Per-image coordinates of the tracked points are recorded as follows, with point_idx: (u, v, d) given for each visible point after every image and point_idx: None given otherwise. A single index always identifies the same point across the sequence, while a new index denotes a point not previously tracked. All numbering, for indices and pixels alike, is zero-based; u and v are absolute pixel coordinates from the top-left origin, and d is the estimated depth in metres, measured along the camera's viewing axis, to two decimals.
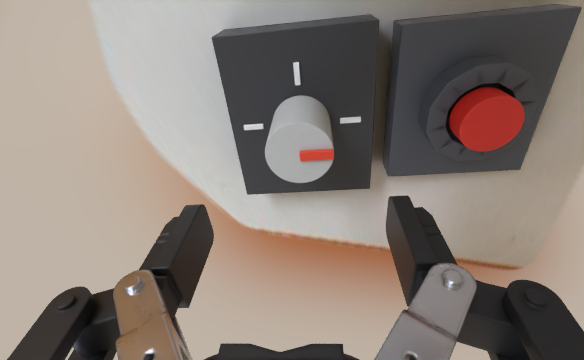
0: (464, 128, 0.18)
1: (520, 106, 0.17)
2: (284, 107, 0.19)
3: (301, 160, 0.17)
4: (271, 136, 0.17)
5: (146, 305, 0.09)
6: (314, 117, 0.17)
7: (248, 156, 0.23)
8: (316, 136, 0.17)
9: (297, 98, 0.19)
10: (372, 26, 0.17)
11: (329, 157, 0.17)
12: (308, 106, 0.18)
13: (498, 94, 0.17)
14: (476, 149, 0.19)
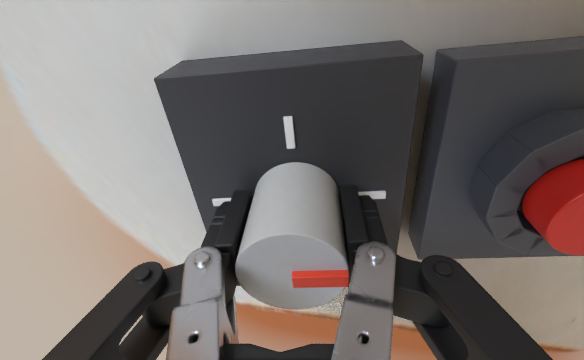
0: (557, 225, 0.11)
1: None
2: (269, 186, 0.12)
3: (295, 285, 0.10)
4: (244, 251, 0.10)
5: (207, 283, 0.09)
6: (315, 216, 0.10)
7: None
8: (320, 253, 0.10)
9: (290, 169, 0.13)
10: (411, 64, 0.11)
11: (341, 284, 0.10)
12: (306, 187, 0.12)
13: None
14: (570, 252, 0.12)
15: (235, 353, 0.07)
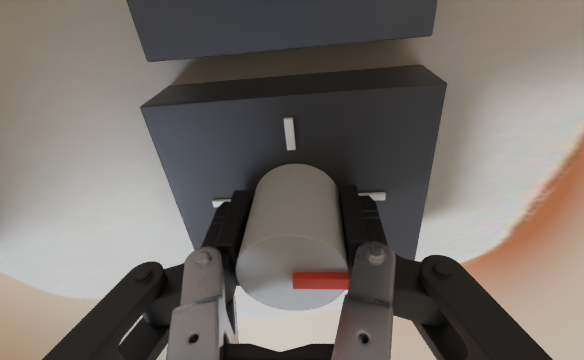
0: None
1: None
2: (271, 186, 0.12)
3: None
4: (246, 251, 0.10)
5: (207, 283, 0.09)
6: (318, 218, 0.10)
7: None
8: (322, 255, 0.10)
9: (292, 171, 0.13)
10: (150, 114, 0.12)
11: (341, 287, 0.10)
12: (309, 189, 0.12)
13: None
14: None
15: (235, 353, 0.07)
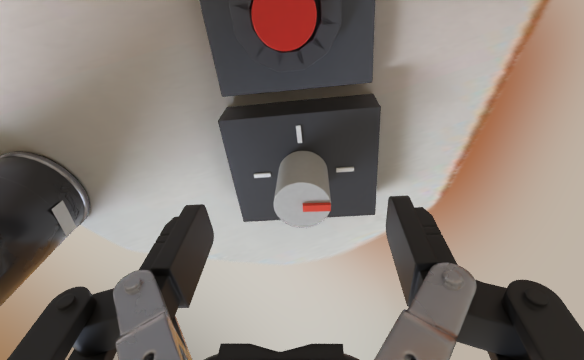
0: (288, 46, 0.17)
1: None
2: (289, 162, 0.22)
3: (303, 211, 0.21)
4: (279, 191, 0.20)
5: (146, 305, 0.09)
6: (315, 176, 0.21)
7: (334, 210, 0.27)
8: (316, 192, 0.20)
9: (300, 154, 0.23)
10: (222, 125, 0.23)
11: (327, 209, 0.20)
12: (310, 163, 0.22)
13: (252, 18, 0.17)
14: (313, 22, 0.17)
15: (235, 353, 0.07)
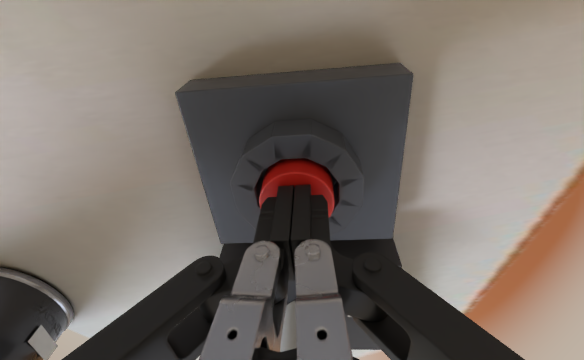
0: None
1: (270, 183, 0.14)
2: None
3: None
4: None
5: (260, 279, 0.09)
6: None
7: None
8: None
9: None
10: None
11: None
12: None
13: None
14: (330, 211, 0.14)
15: None
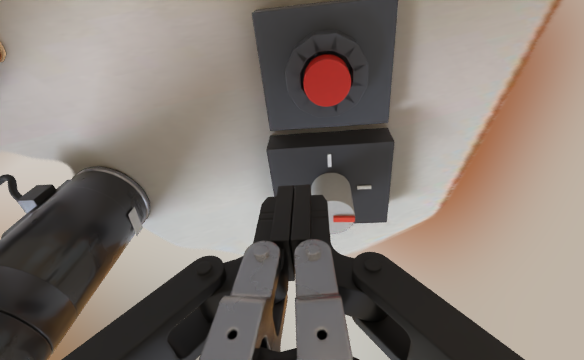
0: (328, 104, 0.23)
1: (311, 67, 0.22)
2: (322, 182, 0.29)
3: (334, 221, 0.27)
4: None
5: (260, 279, 0.09)
6: (343, 195, 0.27)
7: None
8: (344, 208, 0.27)
9: (330, 176, 0.29)
10: (270, 152, 0.29)
11: (352, 221, 0.27)
12: (338, 184, 0.28)
13: None
14: (348, 88, 0.23)
15: None
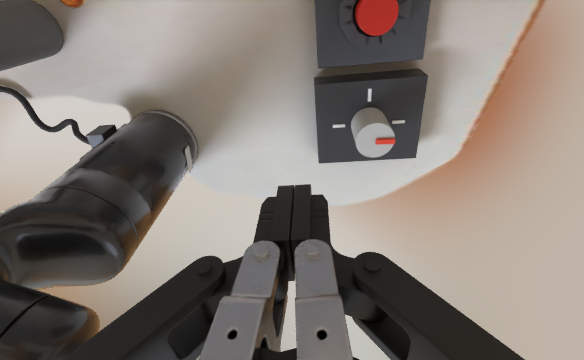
0: (377, 32, 0.28)
1: None
2: (363, 114, 0.33)
3: (376, 144, 0.31)
4: (361, 130, 0.31)
5: (260, 279, 0.09)
6: (384, 120, 0.31)
7: (386, 154, 0.37)
8: (386, 131, 0.31)
9: (370, 109, 0.33)
10: (317, 87, 0.33)
11: (392, 142, 0.31)
12: (378, 114, 0.32)
13: (357, 15, 0.27)
14: (395, 17, 0.27)
15: None
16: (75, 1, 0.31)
